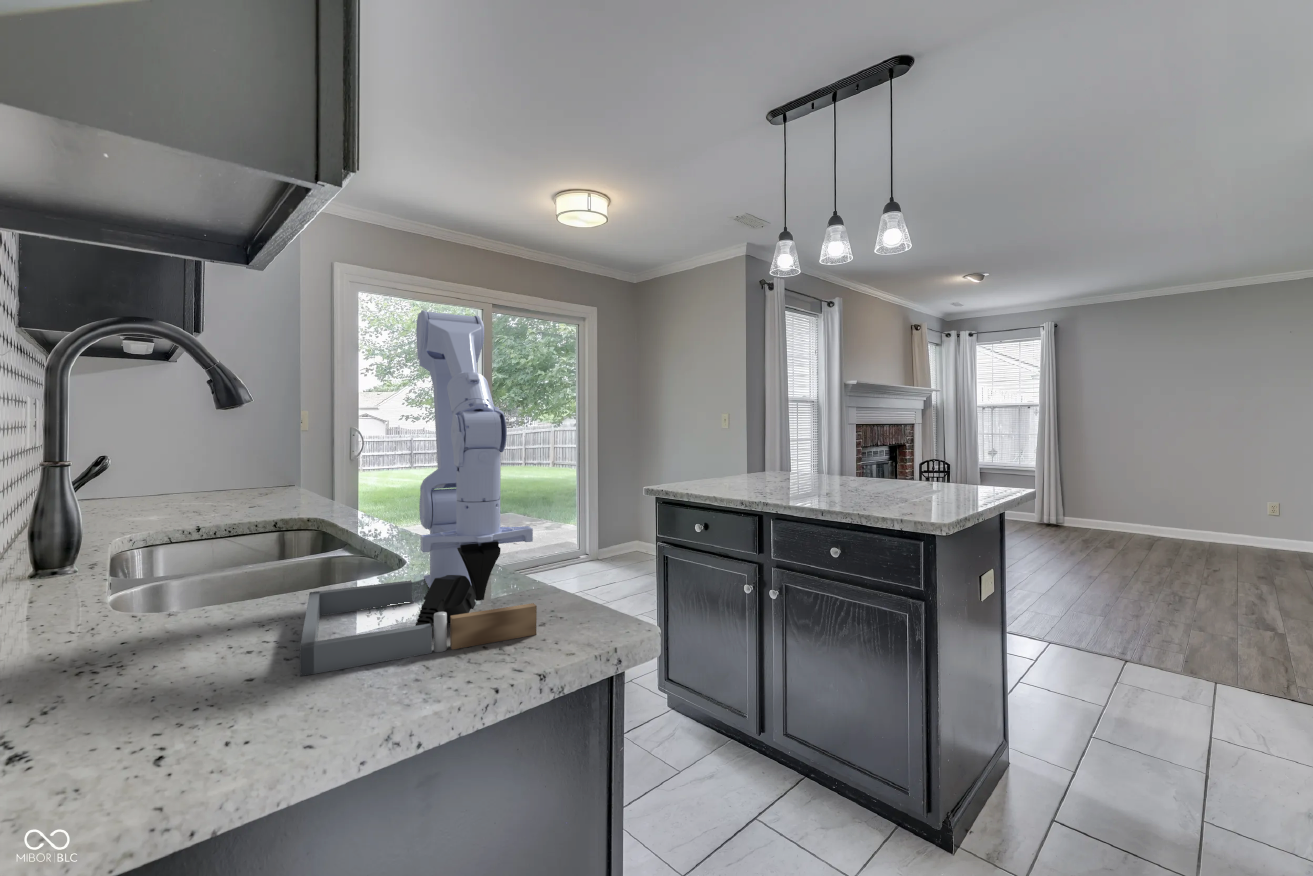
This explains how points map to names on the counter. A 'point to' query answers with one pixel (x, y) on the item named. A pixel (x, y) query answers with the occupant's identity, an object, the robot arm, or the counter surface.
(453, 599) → the power plug
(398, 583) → the grey rectangular frame
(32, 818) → the counter surface
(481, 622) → the gate
